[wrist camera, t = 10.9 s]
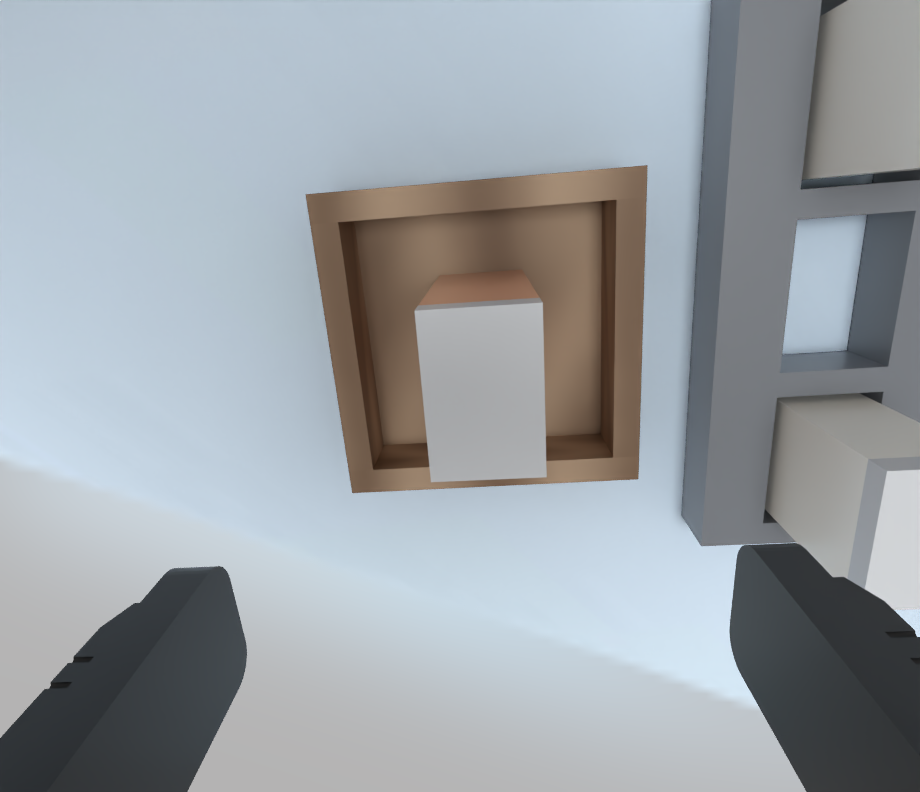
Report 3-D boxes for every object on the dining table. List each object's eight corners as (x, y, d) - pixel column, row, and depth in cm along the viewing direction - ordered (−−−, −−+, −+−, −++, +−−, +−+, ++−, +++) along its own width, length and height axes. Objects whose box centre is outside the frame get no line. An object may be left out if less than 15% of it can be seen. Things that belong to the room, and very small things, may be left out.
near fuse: (864, 175, 25) (1090, 153, 16) (774, 182, 26) (944, 165, 16) (885, 24, 23) (1158, -102, 14) (789, 34, 24) (992, -84, 14)
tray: (368, 458, 31) (352, 492, 27) (331, 196, 27) (305, 194, 23) (619, 445, 30) (638, 479, 26) (623, 171, 26) (647, 165, 22)
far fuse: (819, 484, 30) (970, 607, 21) (744, 487, 31) (860, 610, 21) (834, 381, 29) (1007, 465, 19) (754, 385, 29) (887, 471, 19)
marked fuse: (526, 388, 28) (546, 477, 19) (449, 392, 29) (430, 482, 19) (522, 269, 26) (542, 302, 17) (439, 275, 27) (414, 310, 17)
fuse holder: (878, 507, 31) (919, 537, 28) (681, 515, 31) (701, 546, 29) (979, -29, 23) (1050, -64, 20) (711, -2, 23) (743, -31, 21)
